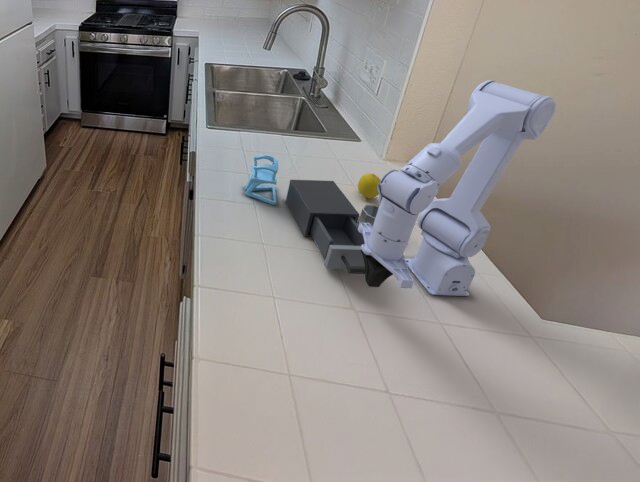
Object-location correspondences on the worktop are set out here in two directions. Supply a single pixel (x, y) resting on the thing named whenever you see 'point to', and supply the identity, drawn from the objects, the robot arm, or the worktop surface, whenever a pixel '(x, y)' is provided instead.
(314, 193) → the drawer cabinet
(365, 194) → the lemon
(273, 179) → the chair
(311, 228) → the drawer
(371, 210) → the octagonal metal cup
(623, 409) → the worktop surface
